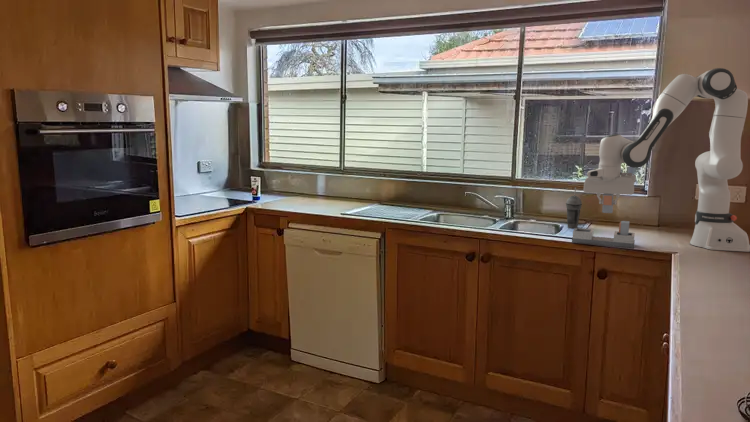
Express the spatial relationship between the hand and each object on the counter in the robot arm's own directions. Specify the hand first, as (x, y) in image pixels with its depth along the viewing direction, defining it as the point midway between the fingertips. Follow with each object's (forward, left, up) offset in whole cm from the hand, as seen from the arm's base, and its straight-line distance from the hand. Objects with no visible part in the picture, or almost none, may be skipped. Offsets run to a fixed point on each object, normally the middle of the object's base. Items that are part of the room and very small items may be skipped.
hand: (607, 204), depth 233 cm
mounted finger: (-8, +10, -14) cm, 19 cm away
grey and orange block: (0, 0, -4) cm, 4 cm away
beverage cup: (+16, -22, -16) cm, 32 cm away
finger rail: (0, +10, -16) cm, 19 cm away
